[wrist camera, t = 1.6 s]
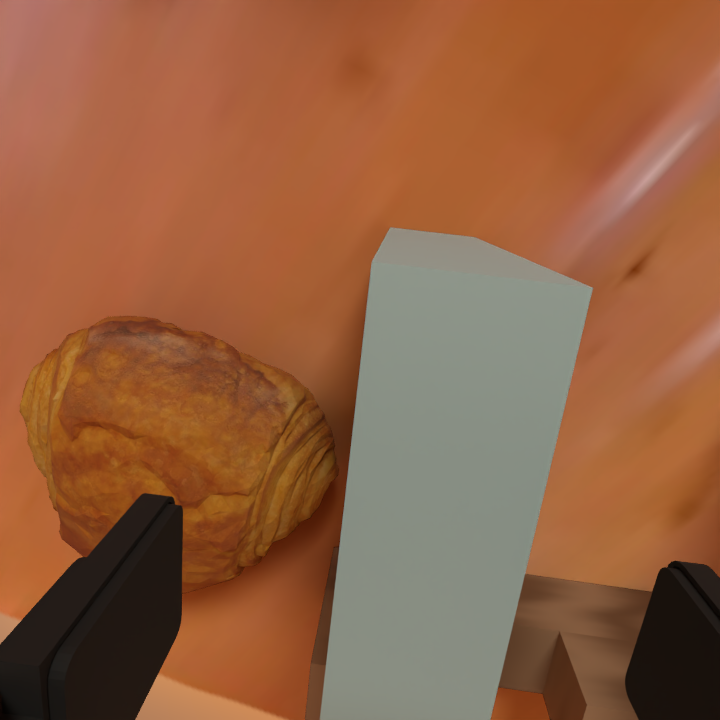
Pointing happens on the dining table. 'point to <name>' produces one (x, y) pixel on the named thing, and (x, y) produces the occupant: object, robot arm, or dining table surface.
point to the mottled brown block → (546, 646)
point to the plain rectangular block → (445, 473)
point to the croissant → (176, 441)
